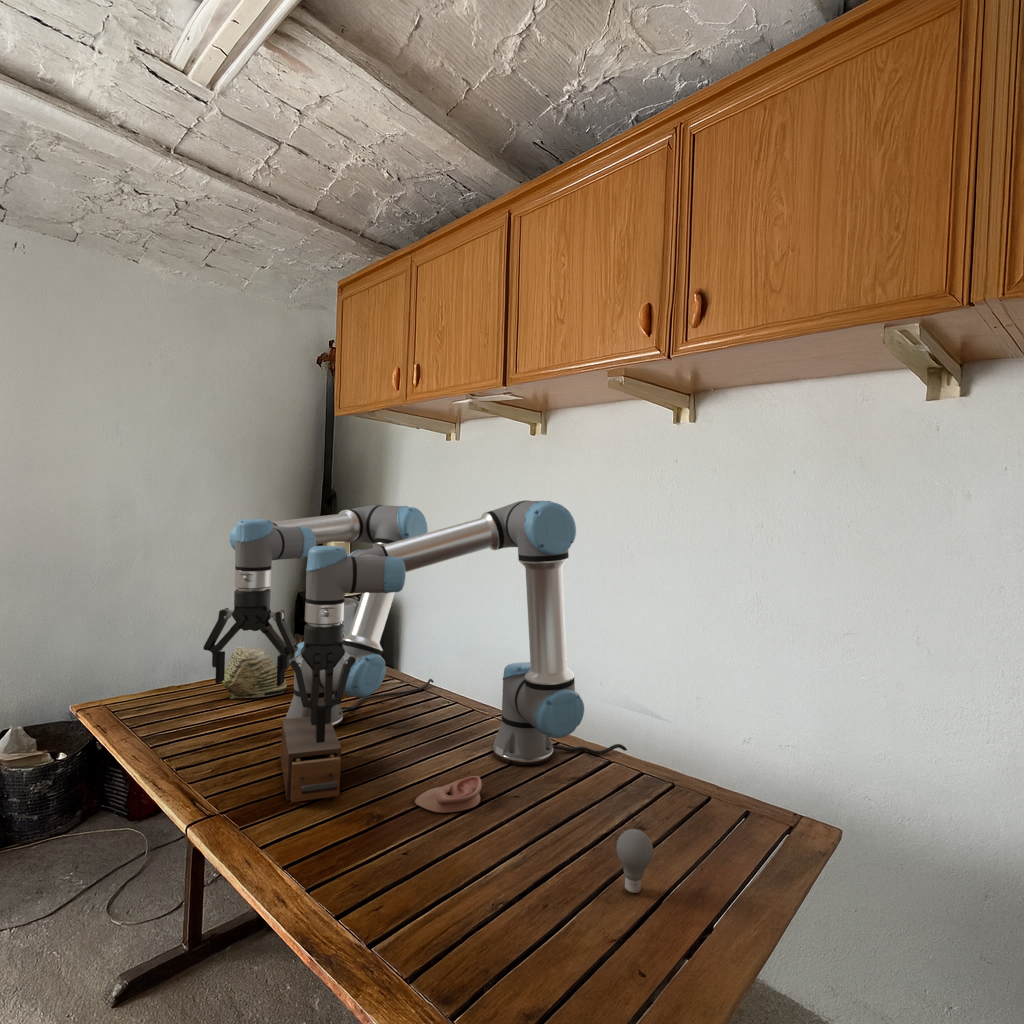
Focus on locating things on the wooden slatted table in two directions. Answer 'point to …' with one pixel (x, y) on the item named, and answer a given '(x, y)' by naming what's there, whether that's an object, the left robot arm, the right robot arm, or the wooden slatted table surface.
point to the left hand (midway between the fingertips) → (250, 682)
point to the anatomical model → (452, 796)
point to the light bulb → (634, 857)
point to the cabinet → (304, 745)
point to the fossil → (251, 674)
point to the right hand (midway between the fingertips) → (319, 739)
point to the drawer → (315, 777)
